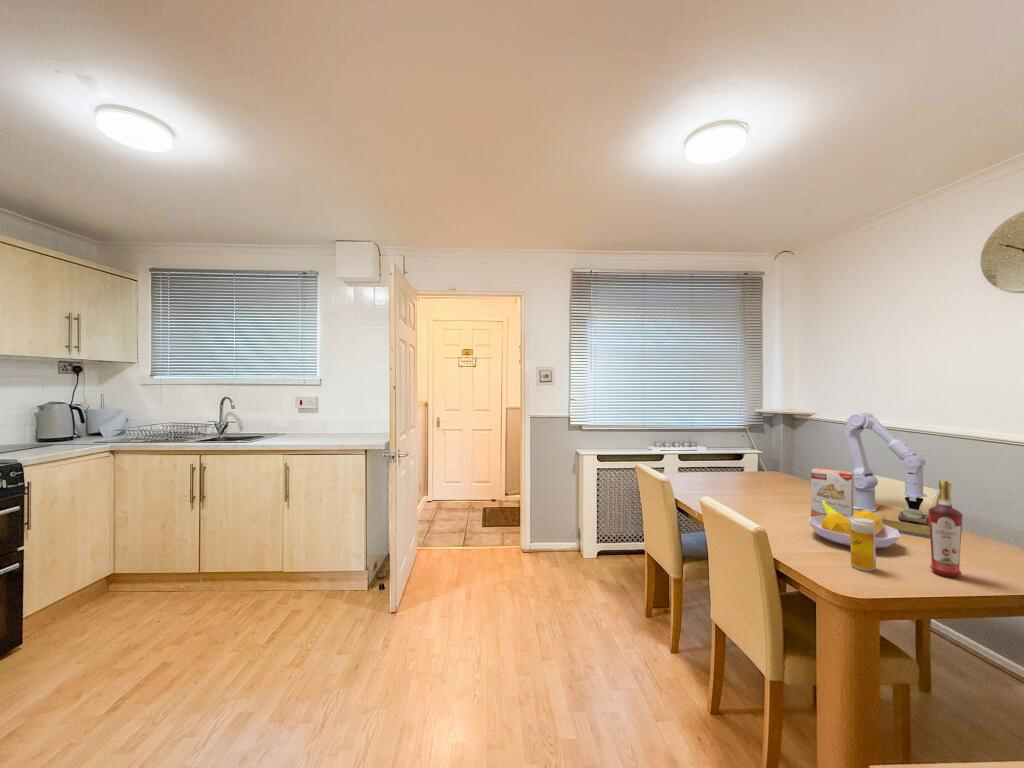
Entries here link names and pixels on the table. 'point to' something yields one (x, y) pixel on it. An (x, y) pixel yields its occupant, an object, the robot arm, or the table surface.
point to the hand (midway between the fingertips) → (914, 515)
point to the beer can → (863, 544)
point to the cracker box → (832, 491)
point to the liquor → (945, 534)
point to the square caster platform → (913, 516)
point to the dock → (908, 527)
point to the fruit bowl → (840, 527)
